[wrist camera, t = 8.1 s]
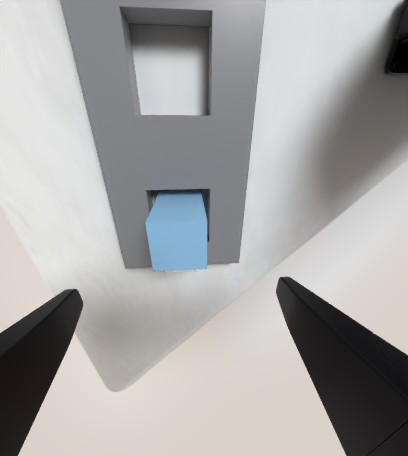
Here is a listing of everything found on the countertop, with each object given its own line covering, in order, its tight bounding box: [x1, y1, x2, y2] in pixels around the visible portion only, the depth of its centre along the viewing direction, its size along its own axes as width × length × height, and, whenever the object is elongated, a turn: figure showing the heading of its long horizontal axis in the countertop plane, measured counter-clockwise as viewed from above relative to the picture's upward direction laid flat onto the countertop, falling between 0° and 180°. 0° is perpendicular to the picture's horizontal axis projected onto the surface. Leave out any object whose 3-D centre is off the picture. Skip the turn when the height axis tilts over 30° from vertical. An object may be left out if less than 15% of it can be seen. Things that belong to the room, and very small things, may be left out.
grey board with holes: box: [60, 0, 266, 268], centre depth 16 cm, size 12×22×2 cm, turn 0°
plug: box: [145, 190, 207, 273], centre depth 16 cm, size 4×5×7 cm
